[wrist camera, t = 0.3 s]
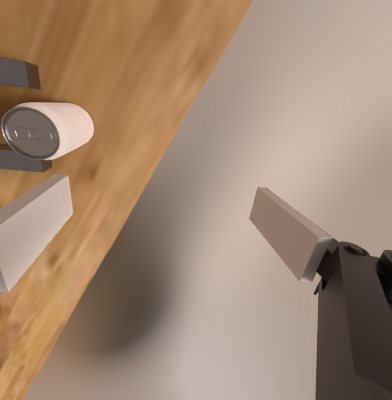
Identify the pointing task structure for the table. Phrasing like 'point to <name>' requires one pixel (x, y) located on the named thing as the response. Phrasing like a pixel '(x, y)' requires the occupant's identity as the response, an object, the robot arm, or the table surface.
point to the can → (46, 129)
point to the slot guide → (27, 77)
